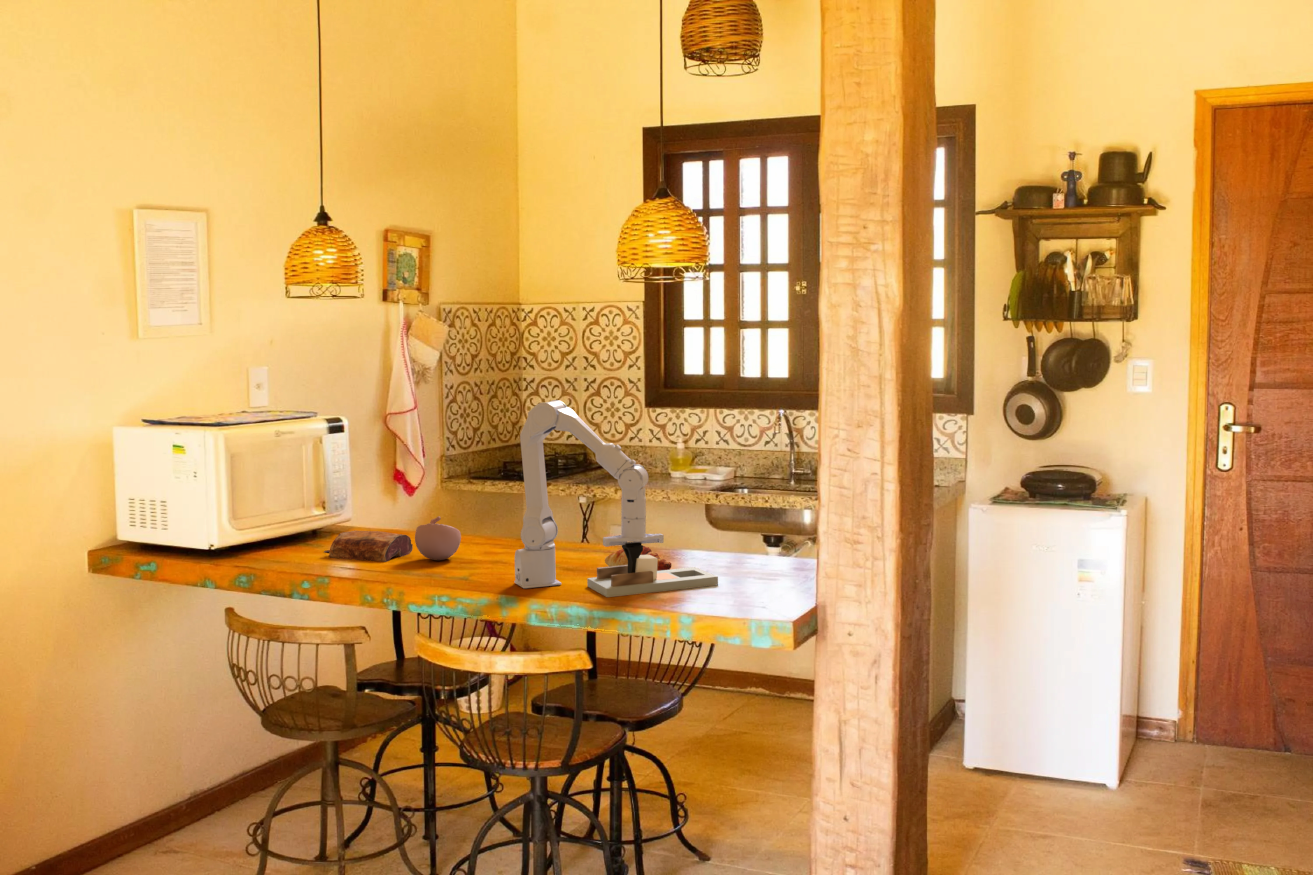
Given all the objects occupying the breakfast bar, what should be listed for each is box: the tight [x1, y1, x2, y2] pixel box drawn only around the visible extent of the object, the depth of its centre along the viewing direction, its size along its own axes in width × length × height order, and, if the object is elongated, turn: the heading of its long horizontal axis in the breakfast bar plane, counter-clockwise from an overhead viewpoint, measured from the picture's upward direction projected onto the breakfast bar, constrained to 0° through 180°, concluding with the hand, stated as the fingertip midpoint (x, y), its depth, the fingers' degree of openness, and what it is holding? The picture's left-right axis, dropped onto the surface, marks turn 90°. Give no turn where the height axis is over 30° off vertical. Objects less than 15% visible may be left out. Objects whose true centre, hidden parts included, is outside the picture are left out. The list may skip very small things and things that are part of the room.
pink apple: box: [414, 516, 462, 561], centre depth 339 cm, size 12×12×11 cm
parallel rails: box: [596, 565, 653, 587], centre depth 299 cm, size 10×11×2 cm
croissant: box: [604, 544, 672, 571], centre depth 320 cm, size 21×10×8 cm, turn 52°
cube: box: [635, 555, 658, 580], centre depth 301 cm, size 5×5×5 cm
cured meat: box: [323, 530, 414, 563], centre depth 350 cm, size 18×25×7 cm
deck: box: [586, 566, 719, 598], centre depth 302 cm, size 28×13×2 cm, turn 113°
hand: (633, 574), depth 300 cm, fingers closed, pressing on cube
